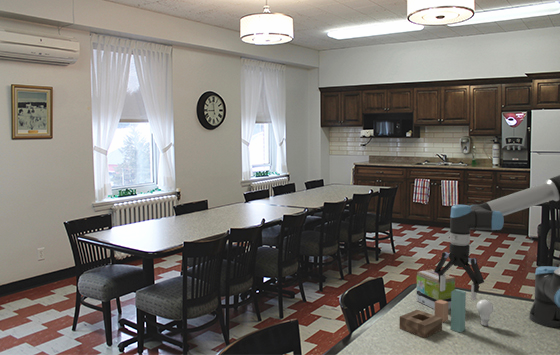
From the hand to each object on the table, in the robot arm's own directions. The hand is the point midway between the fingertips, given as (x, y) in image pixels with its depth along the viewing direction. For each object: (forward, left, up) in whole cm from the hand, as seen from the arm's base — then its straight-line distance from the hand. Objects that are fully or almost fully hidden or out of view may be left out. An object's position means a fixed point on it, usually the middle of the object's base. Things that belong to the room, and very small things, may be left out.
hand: (457, 295), depth 187 cm
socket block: (+10, +11, -14) cm, 20 cm away
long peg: (0, 0, -14) cm, 14 cm away
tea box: (+22, -18, -15) cm, 32 cm away
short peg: (+10, -4, -15) cm, 18 cm away
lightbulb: (-5, -12, -15) cm, 20 cm away
